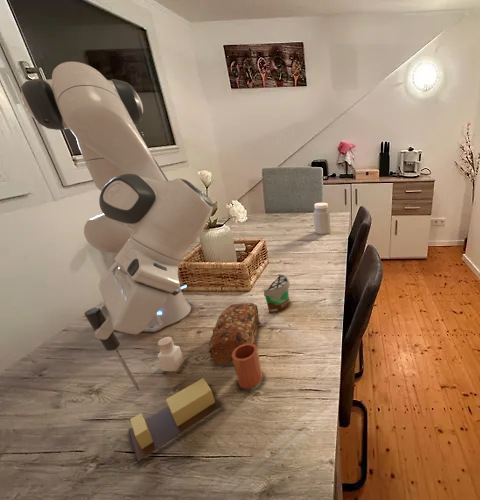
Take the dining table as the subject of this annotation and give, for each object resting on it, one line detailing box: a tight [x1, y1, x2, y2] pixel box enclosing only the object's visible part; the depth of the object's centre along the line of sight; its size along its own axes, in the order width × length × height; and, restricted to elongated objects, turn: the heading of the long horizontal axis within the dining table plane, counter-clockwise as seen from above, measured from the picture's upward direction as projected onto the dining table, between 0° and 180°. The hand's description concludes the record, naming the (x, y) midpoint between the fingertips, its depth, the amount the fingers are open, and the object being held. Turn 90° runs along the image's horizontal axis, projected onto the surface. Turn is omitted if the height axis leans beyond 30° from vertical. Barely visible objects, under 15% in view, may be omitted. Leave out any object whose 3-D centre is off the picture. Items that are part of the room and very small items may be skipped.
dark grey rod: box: [83, 306, 140, 391], centre depth 50 cm, size 2×2×18 cm
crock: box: [232, 343, 263, 389], centre depth 70 cm, size 6×6×10 cm
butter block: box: [165, 377, 215, 426], centre depth 63 cm, size 8×5×4 cm, turn 135°
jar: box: [313, 202, 331, 235], centre depth 171 cm, size 10×10×18 cm
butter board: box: [128, 394, 222, 462], centre depth 62 cm, size 16×9×1 cm, turn 135°
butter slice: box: [129, 412, 153, 449], centre depth 57 cm, size 2×5×4 cm, turn 46°
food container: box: [263, 273, 291, 314], centre depth 100 cm, size 12×6×10 cm, turn 168°
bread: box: [208, 302, 260, 366], centre depth 83 cm, size 19×11×10 cm, turn 9°
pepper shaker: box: [157, 336, 185, 372], centre depth 74 cm, size 4×4×10 cm
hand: (98, 332), depth 48 cm, fingers closed on dark grey rod, 2 cm apart
